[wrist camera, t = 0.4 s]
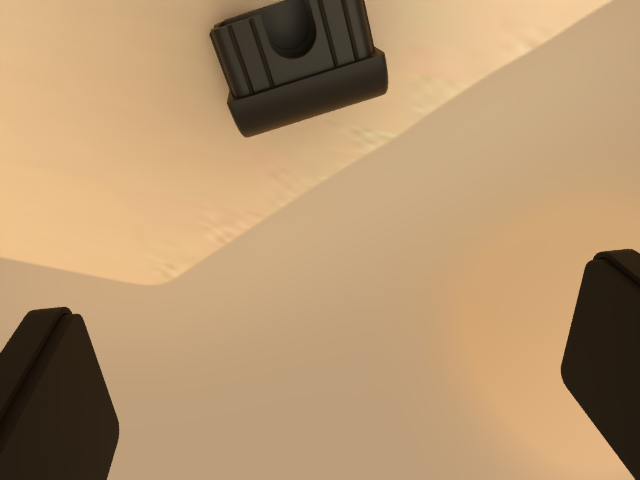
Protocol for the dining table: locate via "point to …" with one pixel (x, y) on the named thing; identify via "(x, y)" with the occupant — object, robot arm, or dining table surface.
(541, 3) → the dining table surface
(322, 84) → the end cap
